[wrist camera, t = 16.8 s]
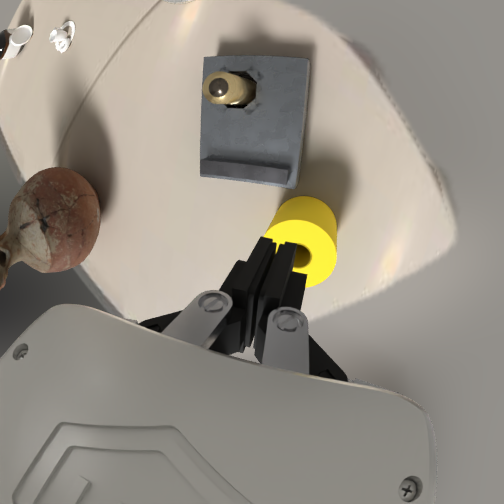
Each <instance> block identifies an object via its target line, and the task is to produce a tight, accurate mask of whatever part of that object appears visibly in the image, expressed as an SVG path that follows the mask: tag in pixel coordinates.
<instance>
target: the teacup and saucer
mask: <svg viewBox="0 0 504 504" xmlns="http://www.w3.org/2000/svg"><path fill="white" fill-rule="evenodd" d="M66 26H71V27H72V35H71V38H70V39H69V38H66V37H67V32H66V31H63V29H64V28H65V27H66ZM55 29H58V30H55ZM74 33H75V24H74V22H73V21H68V22H66V23H65V24H64V25H63V26H62V27H61V28H59V27H55V28H54V30H53V31H52V33H51V35H50V38H49V40H50V42H56V43H55V44H56V49H57V50H58V51H60V52H61V53H62V52H65V51H66V50H67V49H68V47H69V45H70V43H71V41H72V39H73V36H74ZM59 41H62V43H61V45H59Z"/></svg>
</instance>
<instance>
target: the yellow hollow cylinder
mask: <svg viewBox="0 0 504 504" xmlns="http://www.w3.org/2000/svg"><path fill="white" fill-rule="evenodd" d="M264 237H266V238H271V239H273V242H276V243H277V247H276V252H277V250H278V247H279V245H280V243H281V244H284V243H285V241H287V242H292V243H297V248H296V254H295V260H294V266H293V271H294V272H299V273H304V274H308V275H307V280H306V286H305V287H311V286H314V285H317V284H319V283H321V282H322V281H324V280H325V279H326V278H327V277H328V276H329V275H330V274H331V273H332V271H333V269H334V267H335V264H336V253H337V224H336V219H335V216H334V214H333V212H332V210H331V209H330V208H329V207H328V206H327V205H326V204H325V203H324V202H322V201H321V200H319V199H316V198H314V197H309V196H299V197H294V198H292V199H289V200H288V201H286V202H285V203H283V204H282V205H281V207H280V208H279V209H278V211H277V213H276V215H275V216H274V218H273V220H272V222H271V224H270V226H269V228H268V229H267V231H266V233H265V235H264Z"/></svg>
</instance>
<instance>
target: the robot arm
mask: <svg viewBox="0 0 504 504" xmlns="http://www.w3.org/2000/svg"><path fill="white" fill-rule="evenodd" d="M164 1H166V2H168V3H172V4H183V3H189V2H192V1H195V0H164ZM276 247H277V243H276V242H273V239H271V238H266V237H260V239H259V241H258V242H257V244H256V246H255V248H254V249H253V251H252V253H251V255H250V257H249V258H248V260H247V262H246V261H241V260H238V261H237V262H236V263H235V265H234V267H233V268H232V270H231V272H230V273H229V275H228V276H227V278H226V280H225V281H224V283H223V284H222V286H221V288H220V289H219V291H218V290H210V291H205V292H203V293H201V294H199V295H198V296H197V297H196V298H195V299H194V300H193V301H192V302H191V303H190V304H189V305H188V306H187V307H186V308H185V309H184V310H182V311H178V312H174V313H171V314H167V315H163V316H159V317H156V318H152V319H148V320H145V321H142V322H141V323H139V324H138V322H137V320H131V319H125V318H119V317H116V316H114V315H111V314H109V313H106V312H103V311H101V310H98V309H95V308H91V307H88V306H83V305H78V304H62V305H57V306H54V307H52V308H51V309H49V310H48V311H46V312H45V313H44V314H43V315H41V316H40V317H39V318H38V319H37V320H36V321H35V322H33V323H32V324H31V325H30V326H29V327H28V328H27V329H26V330H25V332H23V333H22V334H21V336H20V337H19V338H18V339H17V340H16V341H15V342H14V343H13V344H12V346H11V347H10V348H9V349H8V350H7V351H6V353H5V354H4V355H3V356H2V357H1V359H0V504H435V494H436V483H437V449H436V439H435V434H434V429H433V425H432V421H431V419H430V417H429V415H428V413H427V412H426V410H425V409H424V408H423V407H421V406H420V405H418V404H417V403H416V402H414V401H413V400H411V399H409V398H407V397H405V396H403V395H402V394H400V393H398V392H395V391H391V390H388V389H385V388H382V387H379V386H376V385H373V384H370V383H368V382H365V381H362V380H359V379H355V380H354V381H353V380H350V379H348V378H347V376H346V374H345V373H344V372H343V370H341V368H340V367H339V366H338V365H337V364H336V363H335V362H334V361H333V360H332V359H331V358H330V357H329V356H328V355H327V354H326V352H325V351H324V350H323V349H322V348H321V347H320V346H319V345H318V344H317V343H316V342H315V341H314V340H313V339H312V337H311V336H310V335H309V334H308V320H307V317H306V316H305V314H304V313H302V312H301V311H300V310H301V305H302V300H303V295H304V291H305V286H306V280H307V275H308V274H304V273H299V272H294V271H293V266H294V260H295V254H296V248H297V243H292V242H287V241H285V243H284V244H281V243H280V245H279V247H278V250H277V252H276ZM254 336H255V337H254ZM253 338H254V346H253V347H254V349H255V356H256V358H257V359H258V361H259V362H260V364H259V363H256V362H252V361H247V360H244V359H240V358H237V357H233V356H231V354H233V353H236V352H241V353H243V352H244V349H245V347H246V346H247V347H250V346H251V343H252V341H253Z"/></svg>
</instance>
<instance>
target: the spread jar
mask: <svg viewBox="0 0 504 504" xmlns="http://www.w3.org/2000/svg"><path fill="white" fill-rule="evenodd" d="M31 35H32V28H31V27H30V26H28V25H22V26H20V27H18V28H15V29H6V30H3V31H2V32H1V33H0V60H2V59H9V58H13V57H16V56H17V55H18V54H19V53H20V52H21V50H22V49H23V47H24V45H25V43H27V42H28V41H29V39H30V38H31Z"/></svg>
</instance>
